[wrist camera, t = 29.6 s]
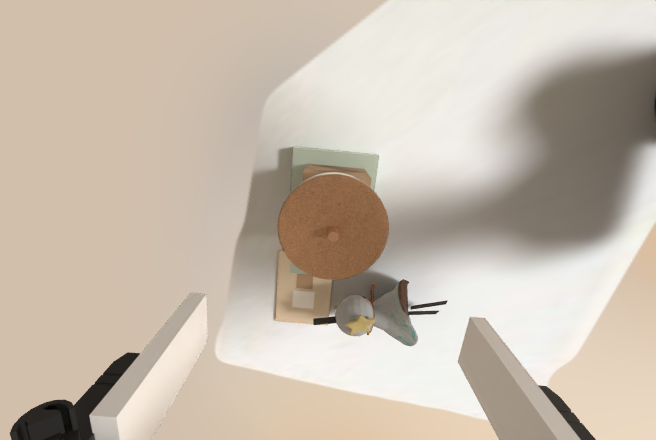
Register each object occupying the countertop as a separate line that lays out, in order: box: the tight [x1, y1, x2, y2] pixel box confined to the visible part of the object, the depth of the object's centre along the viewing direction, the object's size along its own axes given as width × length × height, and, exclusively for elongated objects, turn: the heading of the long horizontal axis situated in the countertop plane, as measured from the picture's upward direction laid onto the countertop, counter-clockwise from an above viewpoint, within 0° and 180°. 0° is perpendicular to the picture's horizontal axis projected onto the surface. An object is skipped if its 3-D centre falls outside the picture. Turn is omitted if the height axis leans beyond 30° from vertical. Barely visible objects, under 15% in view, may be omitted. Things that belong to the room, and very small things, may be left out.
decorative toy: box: [313, 279, 447, 346], centre depth 46 cm, size 12×10×20 cm
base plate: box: [290, 147, 379, 194], centre depth 45 cm, size 12×12×2 cm
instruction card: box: [276, 251, 332, 325], centre depth 51 cm, size 9×13×1 cm
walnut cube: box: [302, 164, 371, 187], centre depth 41 cm, size 8×8×8 cm
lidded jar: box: [278, 172, 389, 280], centre depth 32 cm, size 11×11×9 cm
